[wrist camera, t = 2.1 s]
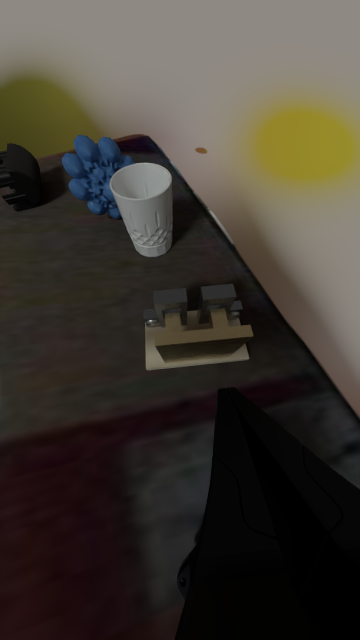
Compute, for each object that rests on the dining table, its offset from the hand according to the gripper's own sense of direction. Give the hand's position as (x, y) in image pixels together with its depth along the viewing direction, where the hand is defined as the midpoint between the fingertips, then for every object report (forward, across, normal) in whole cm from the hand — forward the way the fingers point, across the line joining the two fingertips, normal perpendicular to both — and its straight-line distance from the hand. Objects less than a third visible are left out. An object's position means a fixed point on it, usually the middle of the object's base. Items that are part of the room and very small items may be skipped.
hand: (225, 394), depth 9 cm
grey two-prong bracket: (+16, 0, +3) cm, 17 cm away
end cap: (+40, +30, -21) cm, 55 cm away
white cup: (+28, +5, -8) cm, 29 cm away
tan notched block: (+13, 0, +4) cm, 14 cm away
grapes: (+33, +11, -13) cm, 37 cm away
